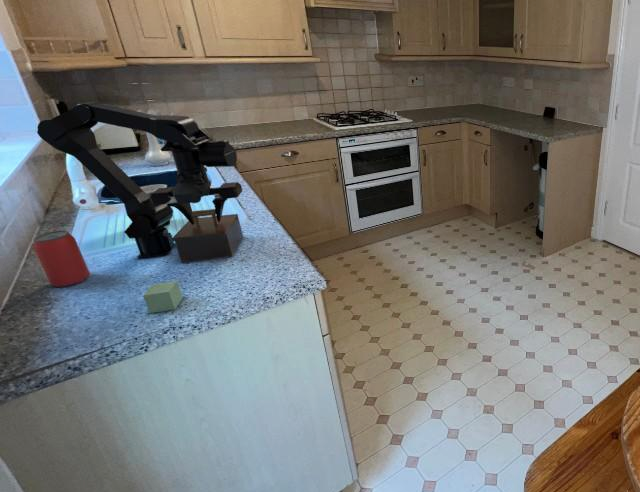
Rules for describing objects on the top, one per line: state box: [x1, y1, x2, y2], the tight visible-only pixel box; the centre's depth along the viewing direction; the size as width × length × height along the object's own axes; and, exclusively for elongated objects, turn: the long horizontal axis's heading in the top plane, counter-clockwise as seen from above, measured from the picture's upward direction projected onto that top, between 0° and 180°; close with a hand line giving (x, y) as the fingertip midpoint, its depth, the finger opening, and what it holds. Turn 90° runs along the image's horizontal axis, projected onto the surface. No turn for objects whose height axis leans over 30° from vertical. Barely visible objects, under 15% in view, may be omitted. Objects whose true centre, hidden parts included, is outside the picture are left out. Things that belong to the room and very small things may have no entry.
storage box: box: [174, 216, 244, 264], centre depth 111 cm, size 12×11×7 cm
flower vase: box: [136, 109, 174, 167], centre depth 184 cm, size 13×18×25 cm
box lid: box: [172, 208, 239, 242], centre depth 108 cm, size 13×11×5 cm
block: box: [142, 280, 184, 314], centre depth 87 cm, size 4×4×4 cm
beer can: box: [33, 229, 91, 288], centre depth 94 cm, size 7×7×12 cm
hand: (206, 222), depth 109 cm, fingers open, 6 cm apart
